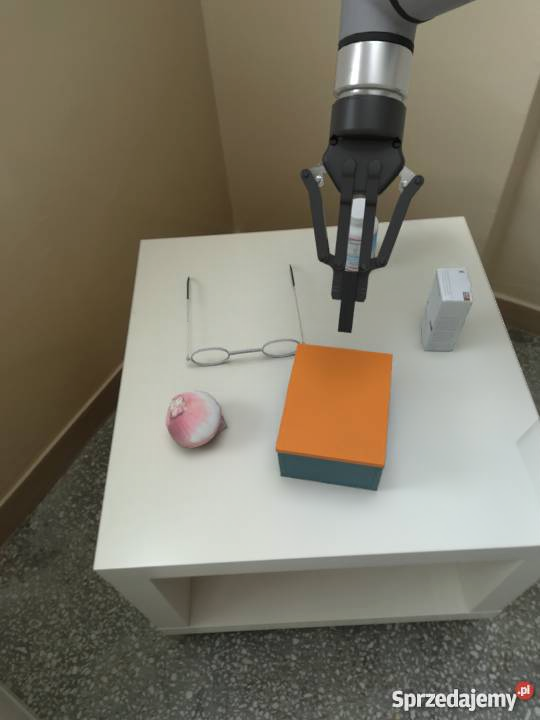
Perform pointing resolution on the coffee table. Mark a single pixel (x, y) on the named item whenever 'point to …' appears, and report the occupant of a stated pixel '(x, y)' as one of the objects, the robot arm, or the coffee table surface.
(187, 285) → the eyeglasses
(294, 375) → the lid
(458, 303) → the cosmetic box
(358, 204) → the pill bottle
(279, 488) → the coffee table surface
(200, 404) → the onion
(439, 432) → the coffee table surface
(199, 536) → the coffee table surface
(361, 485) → the box
